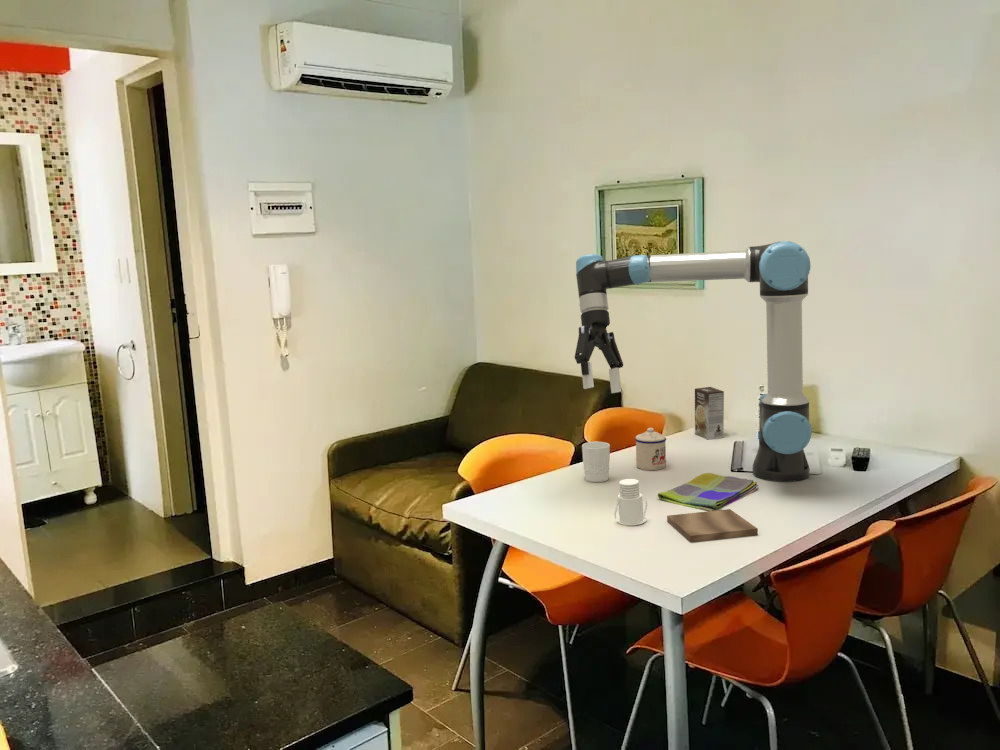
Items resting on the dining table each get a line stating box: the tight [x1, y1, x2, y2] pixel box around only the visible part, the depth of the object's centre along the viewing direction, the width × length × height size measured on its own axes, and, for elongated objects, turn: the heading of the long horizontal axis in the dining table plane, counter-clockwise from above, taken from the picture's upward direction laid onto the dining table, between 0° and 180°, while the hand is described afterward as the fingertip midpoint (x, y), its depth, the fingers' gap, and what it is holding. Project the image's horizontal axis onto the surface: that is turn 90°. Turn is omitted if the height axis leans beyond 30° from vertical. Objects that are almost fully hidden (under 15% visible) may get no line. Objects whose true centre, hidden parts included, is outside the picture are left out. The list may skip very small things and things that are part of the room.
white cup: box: [581, 441, 611, 483], centre depth 228 cm, size 8×8×10 cm
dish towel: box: [657, 472, 759, 512], centre depth 211 cm, size 18×24×3 cm
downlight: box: [614, 478, 648, 527], centre depth 192 cm, size 8×7×10 cm
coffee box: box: [694, 386, 725, 440], centre depth 271 cm, size 9×6×16 cm
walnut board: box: [666, 508, 759, 543], centre depth 186 cm, size 16×14×2 cm
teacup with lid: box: [634, 427, 667, 471], centre depth 239 cm, size 12×9×12 cm
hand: (602, 390), depth 210 cm, fingers open, 13 cm apart
